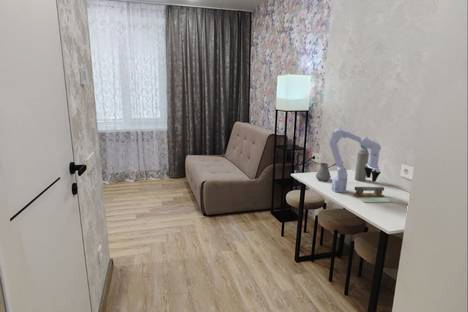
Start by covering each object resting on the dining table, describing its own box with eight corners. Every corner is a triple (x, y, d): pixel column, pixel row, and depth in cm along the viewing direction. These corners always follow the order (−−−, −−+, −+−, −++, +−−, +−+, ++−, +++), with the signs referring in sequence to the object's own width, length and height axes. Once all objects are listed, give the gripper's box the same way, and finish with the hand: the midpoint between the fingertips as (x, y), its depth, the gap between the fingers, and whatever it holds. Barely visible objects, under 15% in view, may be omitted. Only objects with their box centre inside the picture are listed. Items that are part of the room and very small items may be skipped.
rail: (356, 190, 197) (356, 187, 196) (354, 189, 199) (354, 186, 199) (383, 190, 198) (384, 187, 198) (381, 189, 200) (382, 186, 200)
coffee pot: (318, 182, 226) (320, 163, 223) (313, 177, 237) (314, 159, 234) (345, 181, 229) (347, 162, 225) (338, 177, 240) (340, 159, 236)
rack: (356, 197, 197) (357, 189, 195) (353, 194, 201) (353, 187, 200) (383, 197, 198) (384, 189, 196) (379, 194, 203) (380, 187, 201)
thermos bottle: (366, 179, 235) (370, 145, 228) (364, 182, 228) (369, 146, 222) (355, 177, 239) (359, 143, 232) (353, 180, 232) (357, 145, 226)
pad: (364, 202, 187) (364, 201, 187) (358, 198, 194) (359, 197, 194) (394, 202, 189) (394, 201, 188) (388, 198, 195) (388, 197, 195)
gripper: (385, 162, 191) (382, 182, 194) (373, 157, 205) (371, 176, 208) (374, 162, 190) (372, 182, 194) (363, 157, 205) (361, 176, 208)
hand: (371, 179), depth 201 cm, fingers open, 7 cm apart
